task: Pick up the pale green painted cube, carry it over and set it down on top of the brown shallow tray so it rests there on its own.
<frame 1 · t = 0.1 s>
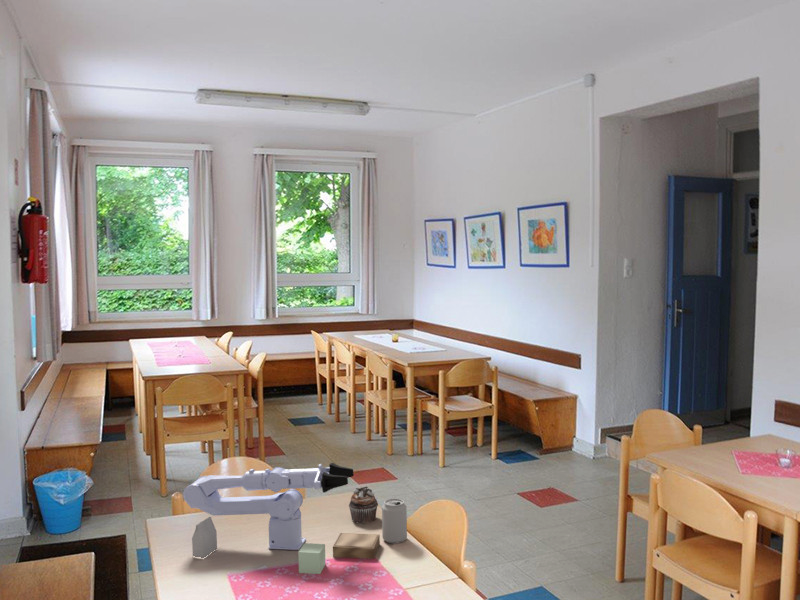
hand: (350, 476, 209), 22 cm above the table, tool horizontal, fingers open, 7 cm apart
can: (394, 540, 216), on the table
brown shallow tray: (356, 550, 208), on the table
cupcake: (363, 519, 233), on the table
green cube: (312, 568, 197), on the table
grey angular block: (205, 554, 207), on the table
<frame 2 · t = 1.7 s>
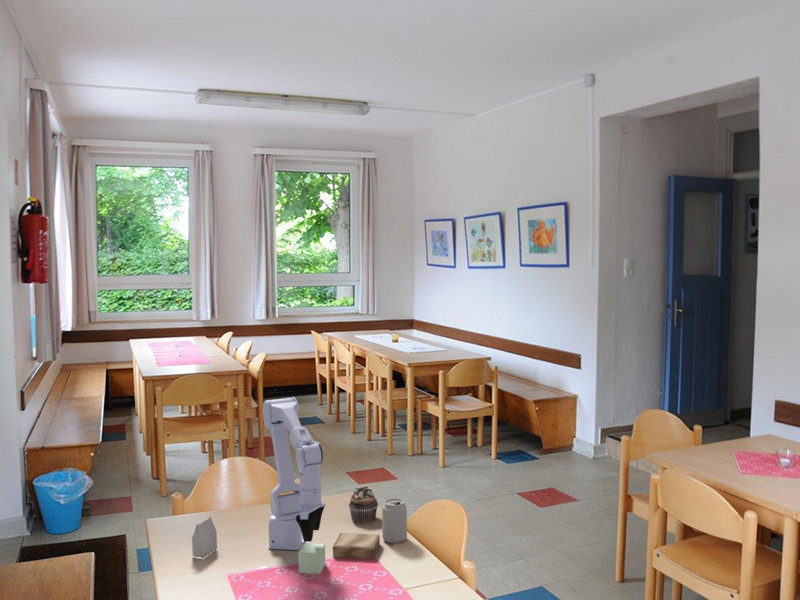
hand: (311, 535, 196), 10 cm above the table, tool pointing down, fingers open, 7 cm apart
nothing on the table moved.
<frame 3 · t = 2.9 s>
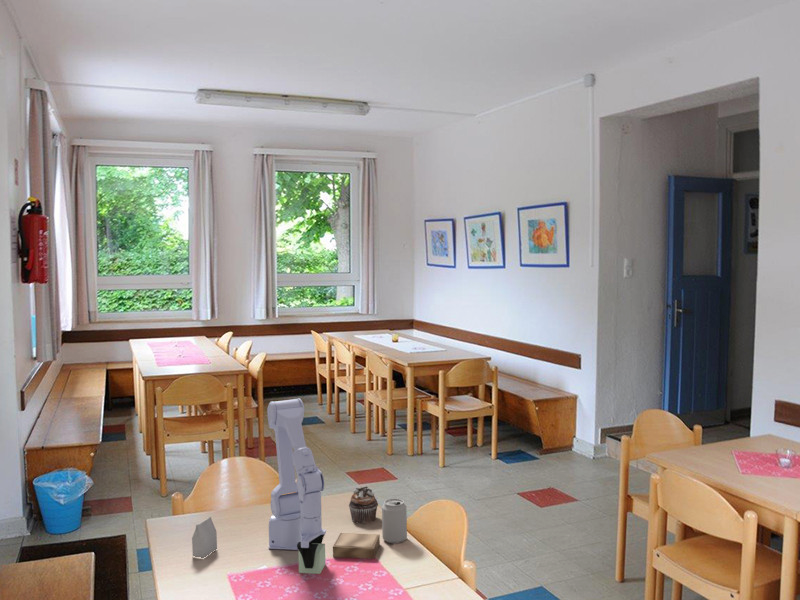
hand: (312, 562, 197), 2 cm above the table, tool pointing down, fingers closed on green cube, 6 cm apart
green cube: (312, 568, 197), on the table, touching gripper
everything else where it was.
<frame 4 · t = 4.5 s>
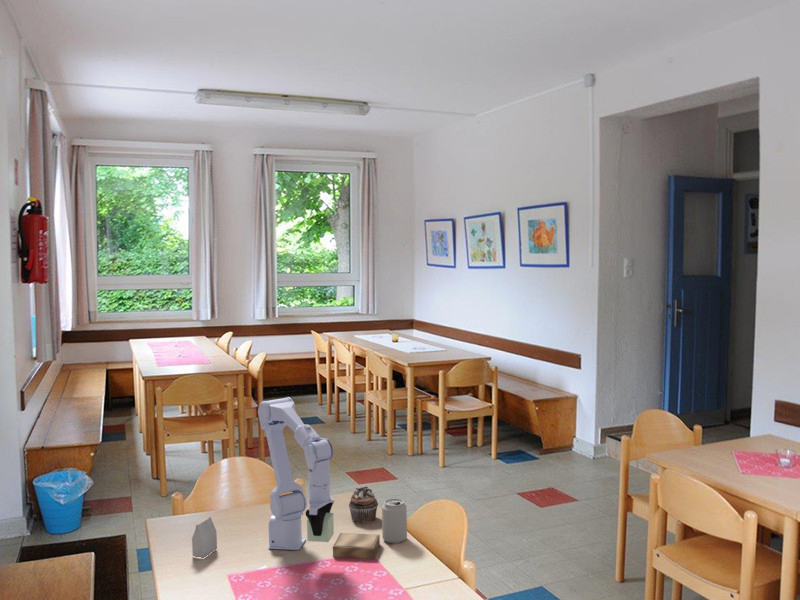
hand: (320, 530, 198), 10 cm above the table, tool pointing down, fingers closed on green cube, 6 cm apart
green cube: (320, 537, 198), point 8 cm above the table, touching gripper
everything else where it was.
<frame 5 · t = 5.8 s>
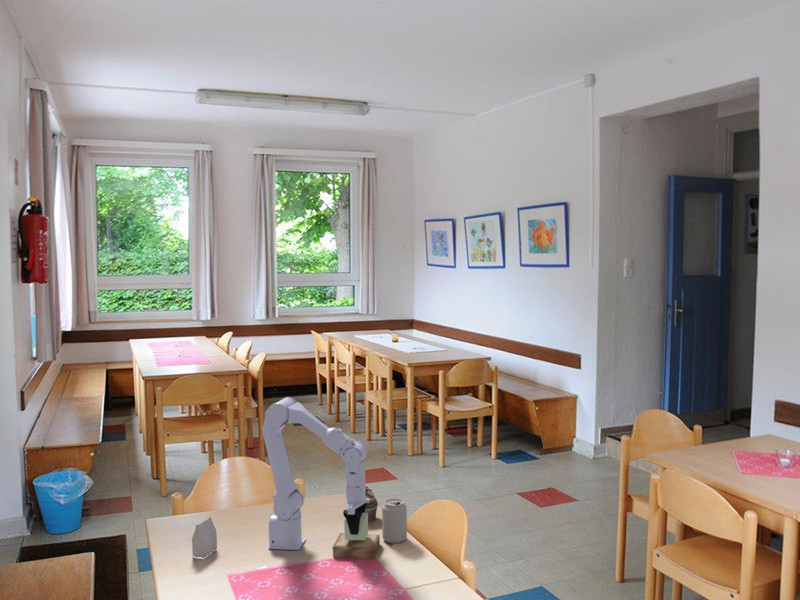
hand: (356, 529, 208), 6 cm above the table, tool pointing down, fingers closed on green cube, 6 cm apart
green cube: (356, 536, 208), point 4 cm above the table, touching gripper
everything else where it was.
when the fingers open (6 cm above the table, at t = 6.5 s): green cube stays where it is, resting on brown shallow tray.
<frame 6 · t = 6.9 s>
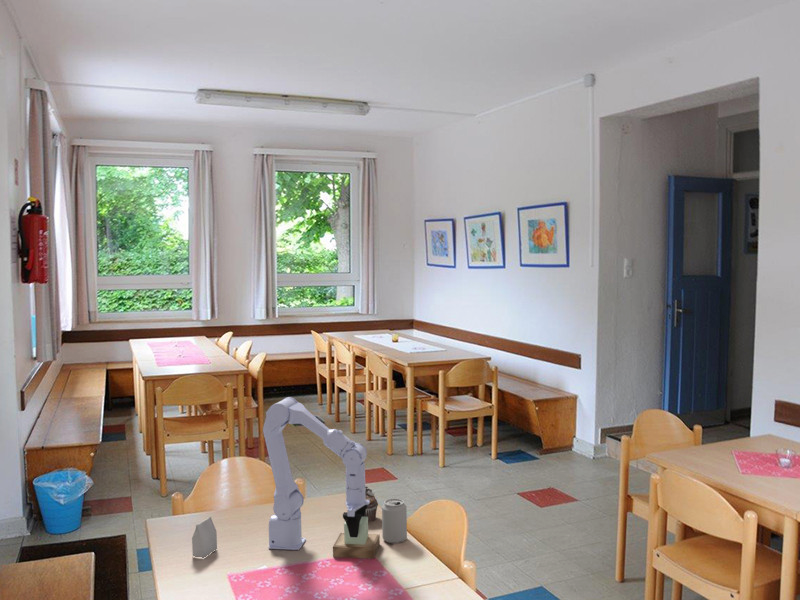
hand: (356, 531, 208), 6 cm above the table, tool pointing down, fingers open, 7 cm apart
green cube: (356, 540, 208), point 3 cm above the table, touching brown shallow tray
everything else where it was.
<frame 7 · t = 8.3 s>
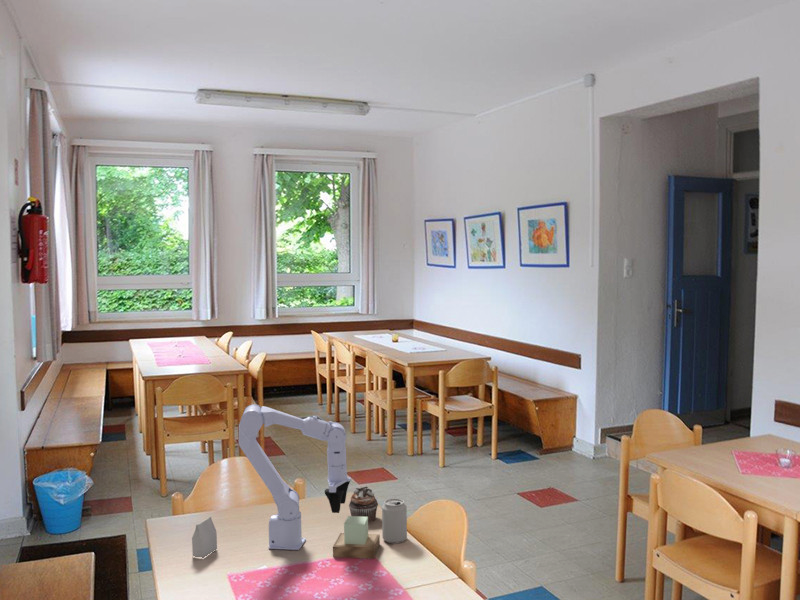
hand: (338, 507, 214), 10 cm above the table, tool pointing down, fingers open, 7 cm apart
nothing on the table moved.
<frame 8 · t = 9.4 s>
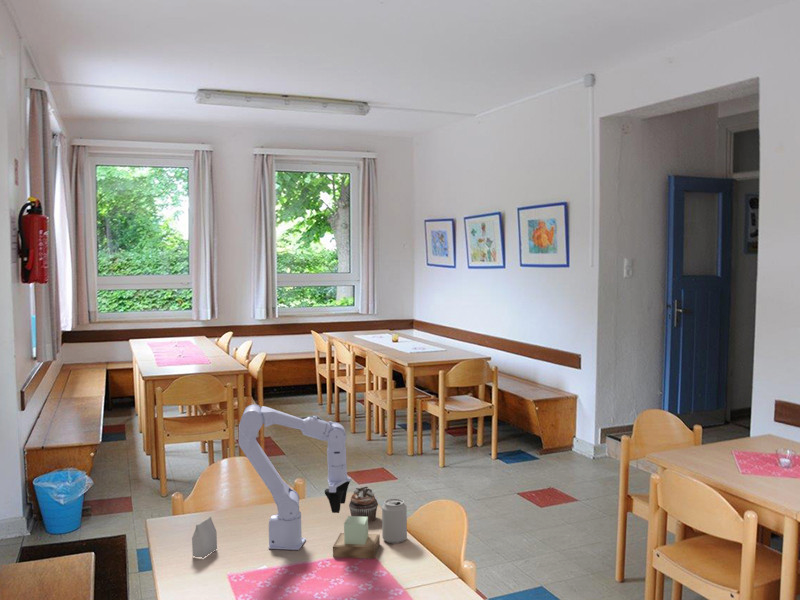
hand: (338, 507, 214), 10 cm above the table, tool pointing down, fingers open, 7 cm apart
nothing on the table moved.
at the end: green cube inside the target area on the brown shallow tray (0.0 cm from its centre), point 3.1 cm above the brown shallow tray's base; green cube tilted 0°; the gripper is holding nothing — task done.
